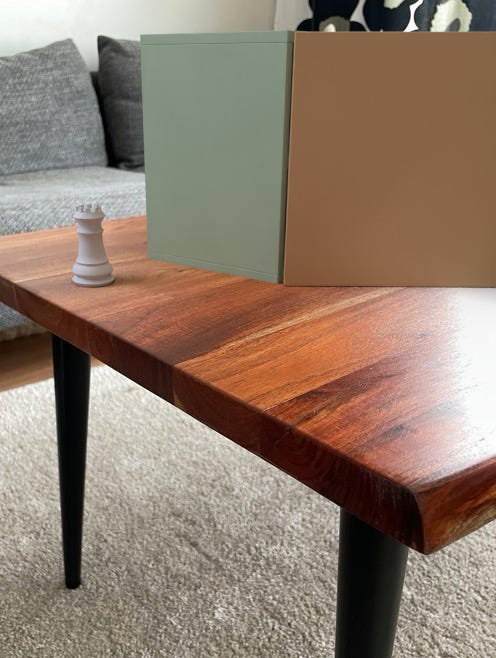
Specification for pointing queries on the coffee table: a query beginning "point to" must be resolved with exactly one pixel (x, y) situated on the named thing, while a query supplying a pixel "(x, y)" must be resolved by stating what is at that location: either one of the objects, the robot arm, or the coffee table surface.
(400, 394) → the coffee table surface
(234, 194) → the cabinet
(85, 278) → the rook chess piece
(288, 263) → the cabinet door
